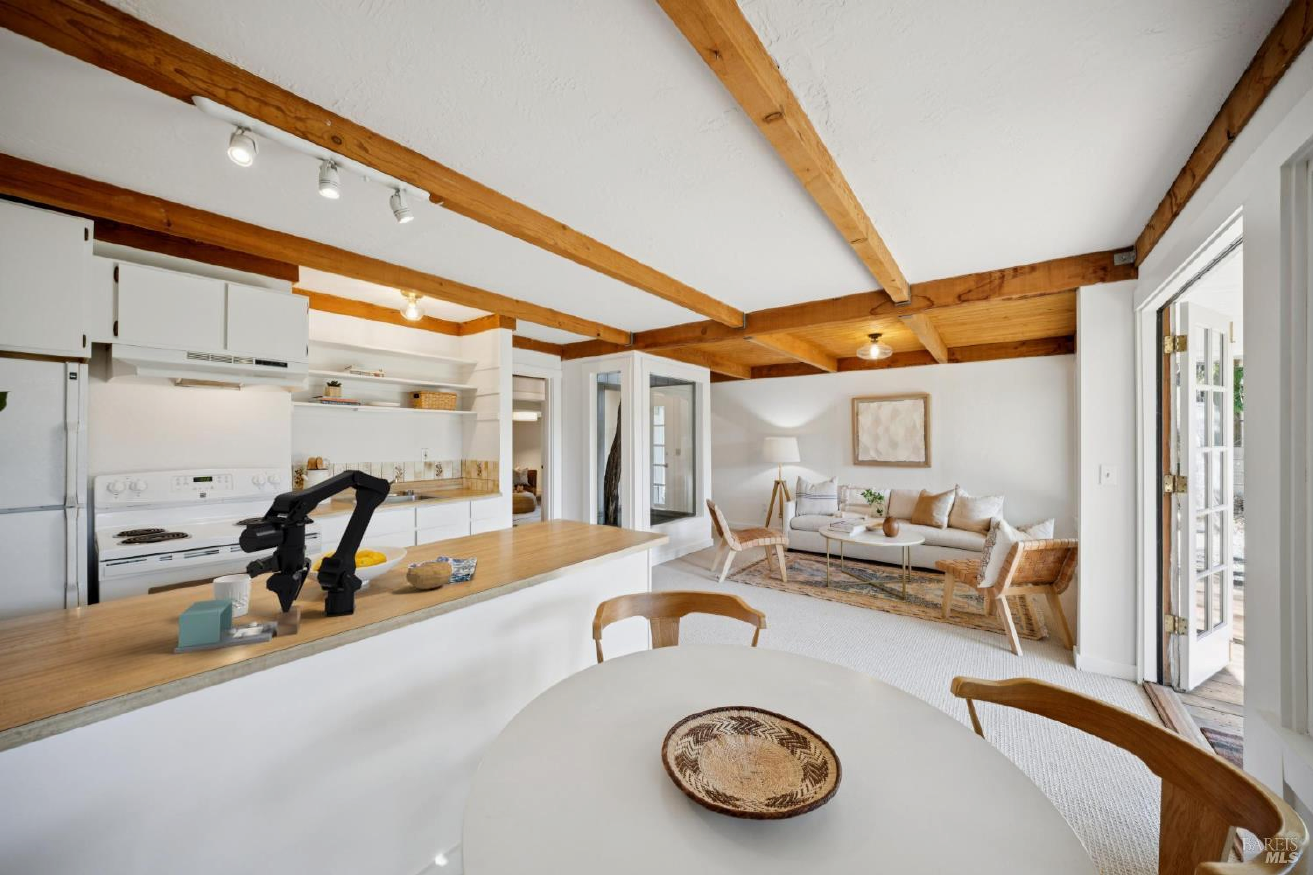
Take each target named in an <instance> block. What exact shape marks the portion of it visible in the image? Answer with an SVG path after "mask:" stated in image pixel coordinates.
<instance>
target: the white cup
mask: <svg viewBox="0 0 1313 875" xmlns="http://www.w3.org/2000/svg"><path fill="white" fill-rule="evenodd" d="M212 583H213V584H212V585H213V587H212V588H213V589H212V590H213V592H212V593H213V600H221V599H231V598H233V610H232V619H235V618H240V617H243V616H244V615H246V614H248V613H249V603H250V597H251V587H252V578H251V577H250V575H249V574H247V573H240V574H239V573H238V574H230V575H229V574H228V575H224V576H220V577H217V578H215V579H213V581H212Z"/></svg>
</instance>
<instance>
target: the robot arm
mask: <svg viewBox="0 0 1313 875" xmlns="http://www.w3.org/2000/svg"><path fill="white" fill-rule="evenodd" d="M349 488H351V489H353V490H355V495H354V497H355V503H356V505H355V507H354V510H353V512H352V514H351V516H350V519H349V521H348V523H347V525H346V528H345V530H344V531H343V532H344V533H343V534H342V537H341V539H340V541H339V543H338V546H337V547H336V550H335V551H334V553H333V554H332V555H331V556H324V557H323V558H322V560H321V562H320V563H321V564H320V566H319V567H318V569H317V570H316V572H317V576H316V580H317V581H318V584H319V586H320V587H321V590H322V591H323V592H327V595H326V596H325V598H324V613H325V618H328V617H337V616H344V615H353V614H354V613H355V610H356V607H357V606H356V604H355V603H356V600H355V599H356V598H355V597H356V592H357V591H359V590H361V588H362V585H363V580H362V579H360V578H359V577H358V576H357V575H356V571H357V563H356V555H357V552H358V551H359V548H360V545H361V543H362V542H363V538H364V536H365V534H366V531H367V529H368V526H369V523H370V522H371V520H372V517H373V515H374V512H375V511H376V509H377V508H378V507H379V506H380V505H382V504H383V503H384V502H385V501H386V499H387V497H388V495H389V493H390V491H391V485H390V482H389V480H387V479H386V478H382V477H381V478H379V477H376V476H374V475H370V474H367V473H365V472H364V471H362V470H359V469H345V470H344V471H342V472H341V473H340V472H339V474H336V475H335V476H332V477H329V478H327V479H325V480H323V481H321V482H319V483H316V484H315V485H312V486H309V487H308V488H303V489H297V490H291V491H287V492H283V493H281V494H278V495H277V496H276V497H274V499H273V503H272V504H271V505H270V507H269V509H268V510H267V512H266V513H265V514H264V515H263V517H262V518H261V520H260V521H259V522H249V523H248V522H247V523H246V525H245V529H243V530H242V532H241V534H240V536H239V538H238V545H239V547H240V549H241V550H242V552H244V553H246V554H251V553H256V552H257V553H258V552H261V551H267V550H269V549H275V550H274V551H273V553H272V554H271V555H267V556H265V557H262V558H257V559H255V560H251V561H250V562H249V563H248V564H247V565H246V566H245V569H246V571H245V574H249V575H250V577H251V579H254V578H257V577H258V576H260V575H263V574H266V573H268V572H271V573H273V574H271V576H269V577H268V579H267V580H265V582H266V584H265V585H266V586H265V587H266V588H265V589H267V590H268V591H269V592H272V593H275V594H276V595H277V598H278V602H279V604H280V608H282V611H283V613H287V612H289V610H290V608H291V606H293V603H294V601H297V598H298V597H299V595H300V593H301V590H302V588H303V586H304V584H305V582H306V579H307V577H308V575H309V574H310V571H311V568H312V559H311V558H309V557H308V556H306V550H307V545H306V525H311V524H314V523H315V521H314V520H313V519H312V518H311V517H309V516H308V515H309V514H310V513H311V512H313V511H314V510H315V509H316V508H317V507H318V505H319V504H320V503H322V502H323V501H325V500H327V499H330V498H331V497H333V496H335V495H337V494H340V493H341V492H343V491H345V490H347V489H349Z"/></svg>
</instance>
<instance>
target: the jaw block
mask: <svg viewBox="0 0 1313 875" xmlns="http://www.w3.org/2000/svg"><path fill="white" fill-rule="evenodd" d="M276 620H277V630H276V637H277V638H278V637H284V636H287V637H288V636H294V635H298V633H299V631H300V629H301V604H297V605H291V608H290V610H289V612H287V613H283V611H282V608H281V607H279V609H278V611H277V616H276Z"/></svg>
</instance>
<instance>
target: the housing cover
mask: <svg viewBox="0 0 1313 875" xmlns="http://www.w3.org/2000/svg"><path fill="white" fill-rule="evenodd" d="M232 610H233V598H231V599H221V600H214V599H213V600H212V599H211V600H204V601H202V600H201V601H196V602H194V603H192V604H191V605H190V606H189V607H188V608H187V609H185V610H184V611H183V612H182V613H180V614H179V616H178V642H177V643H178V645H177V646H178V648H179V647H187V646H194V645H202V644H210V643H217V642H219V640H220V629H227V628H232V627H233V618H232Z"/></svg>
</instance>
